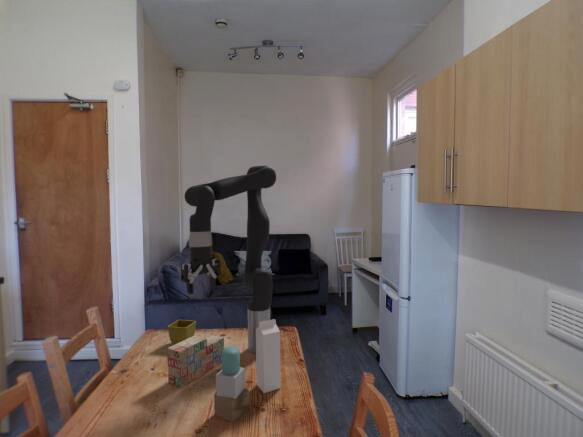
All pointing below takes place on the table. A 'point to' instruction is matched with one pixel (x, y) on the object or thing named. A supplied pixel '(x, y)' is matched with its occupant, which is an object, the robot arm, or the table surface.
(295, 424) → the table surface
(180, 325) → the flower pot
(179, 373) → the stack of blocks
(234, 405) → the walnut block
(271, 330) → the milk
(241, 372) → the grey block
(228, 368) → the teal cylinder
